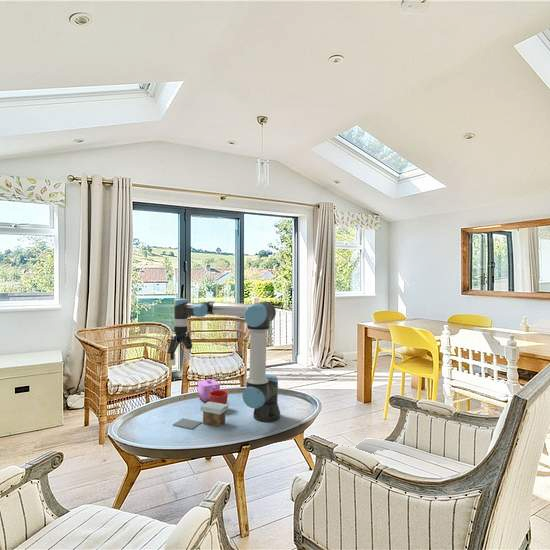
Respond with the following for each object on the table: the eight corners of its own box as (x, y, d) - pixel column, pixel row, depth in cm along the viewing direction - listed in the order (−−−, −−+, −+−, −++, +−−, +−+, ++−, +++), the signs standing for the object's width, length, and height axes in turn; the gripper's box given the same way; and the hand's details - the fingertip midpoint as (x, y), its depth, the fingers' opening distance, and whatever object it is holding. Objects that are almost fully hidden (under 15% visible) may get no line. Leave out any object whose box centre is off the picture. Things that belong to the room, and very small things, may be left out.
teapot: (196, 396, 239) (197, 377, 239) (211, 394, 243) (212, 375, 243) (206, 406, 221) (206, 385, 221) (222, 404, 226) (222, 383, 226)
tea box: (225, 422, 198) (225, 409, 198) (219, 426, 193) (219, 413, 193) (209, 419, 202) (209, 406, 202) (202, 423, 197) (203, 410, 197)
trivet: (201, 423, 197) (201, 421, 197) (192, 429, 189) (192, 428, 189) (183, 419, 202) (183, 418, 202) (172, 425, 194) (172, 424, 194)
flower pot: (224, 413, 211) (224, 396, 211) (206, 411, 213) (206, 395, 213) (230, 407, 221) (230, 390, 221) (212, 405, 223) (213, 389, 223)
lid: (227, 412, 199) (227, 404, 199) (220, 417, 192) (220, 409, 191) (208, 408, 203) (208, 401, 203) (200, 413, 196) (200, 406, 196)
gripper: (188, 322, 226) (187, 357, 227) (161, 328, 203) (160, 366, 203) (198, 323, 224) (198, 358, 224) (172, 329, 200) (171, 368, 201)
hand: (180, 362), depth 214 cm, fingers open, 13 cm apart
